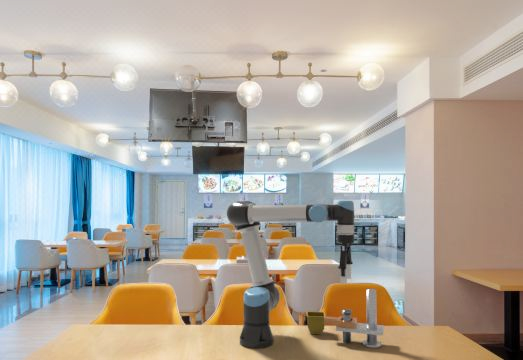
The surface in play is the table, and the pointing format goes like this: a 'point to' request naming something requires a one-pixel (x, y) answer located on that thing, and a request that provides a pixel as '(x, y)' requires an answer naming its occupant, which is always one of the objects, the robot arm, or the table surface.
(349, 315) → the pin
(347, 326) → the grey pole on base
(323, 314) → the flower pot
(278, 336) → the table surface
